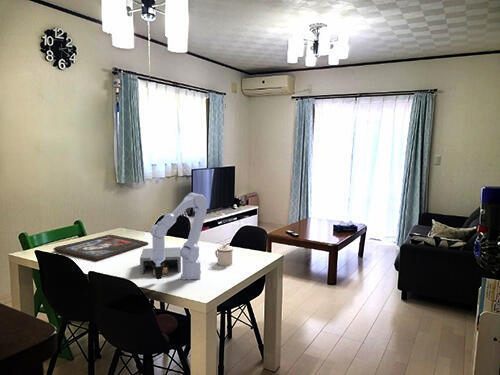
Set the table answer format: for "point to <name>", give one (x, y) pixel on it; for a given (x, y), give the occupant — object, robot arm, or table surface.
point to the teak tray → (164, 269)
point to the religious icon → (101, 247)
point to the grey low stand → (170, 256)
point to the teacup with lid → (224, 255)
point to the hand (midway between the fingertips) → (159, 276)
